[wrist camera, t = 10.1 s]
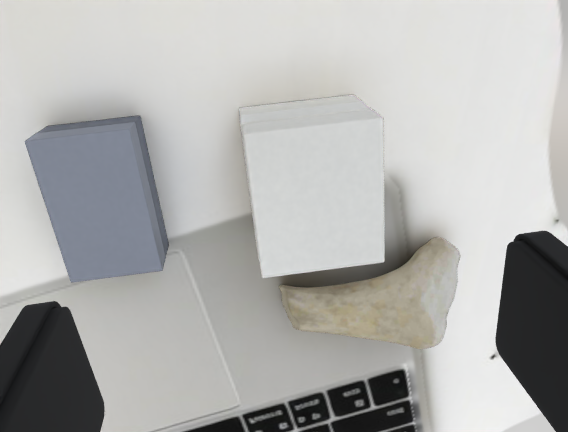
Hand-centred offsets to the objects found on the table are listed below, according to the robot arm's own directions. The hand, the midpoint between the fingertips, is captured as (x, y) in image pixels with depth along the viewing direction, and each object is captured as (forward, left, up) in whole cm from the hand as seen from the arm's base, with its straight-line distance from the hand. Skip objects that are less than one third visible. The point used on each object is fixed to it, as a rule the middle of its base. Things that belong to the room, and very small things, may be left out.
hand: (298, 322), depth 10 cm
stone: (+11, +6, -18) cm, 22 cm away
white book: (+3, +2, -15) cm, 15 cm away
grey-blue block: (+3, -9, -18) cm, 20 cm away
